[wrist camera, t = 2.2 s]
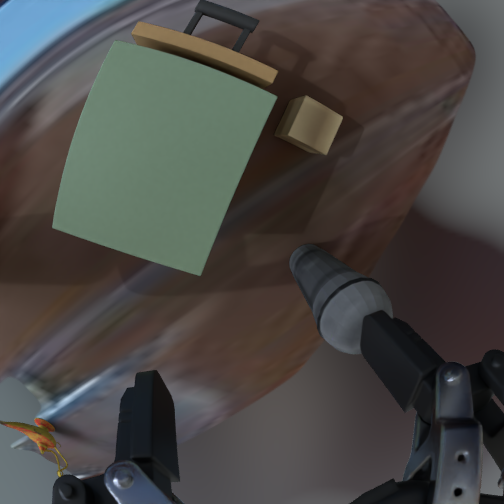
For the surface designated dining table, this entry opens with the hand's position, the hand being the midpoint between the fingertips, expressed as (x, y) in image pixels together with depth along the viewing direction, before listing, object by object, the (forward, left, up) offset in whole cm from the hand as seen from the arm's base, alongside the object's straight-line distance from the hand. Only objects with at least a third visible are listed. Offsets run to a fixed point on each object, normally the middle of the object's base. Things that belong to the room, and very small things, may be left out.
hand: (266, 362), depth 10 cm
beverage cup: (+13, -2, -22) cm, 26 cm away
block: (+5, +12, -22) cm, 26 cm away
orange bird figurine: (-22, -53, -22) cm, 61 cm away
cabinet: (-7, +4, -22) cm, 23 cm away
